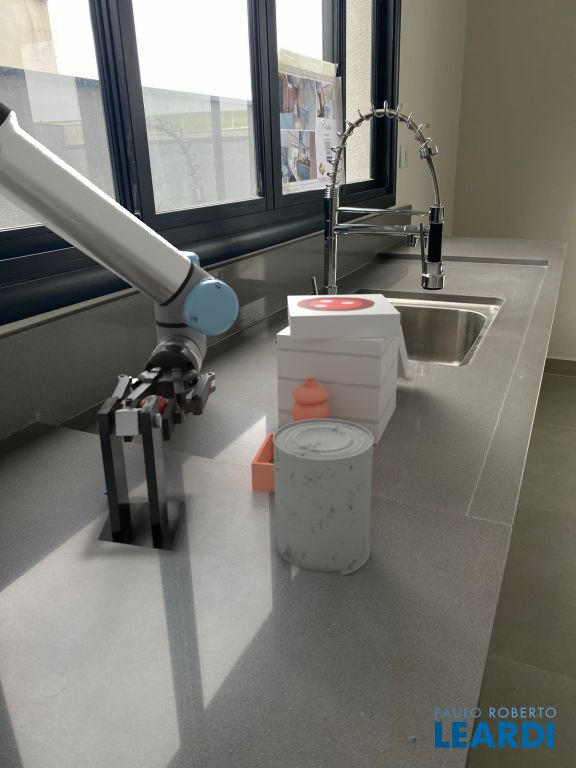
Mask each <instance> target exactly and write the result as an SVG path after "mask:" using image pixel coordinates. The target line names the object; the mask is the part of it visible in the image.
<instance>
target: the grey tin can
mask: <svg viewBox="0 0 576 768" xmlns="http://www.w3.org/2000/svg"><path fill="white" fill-rule="evenodd" d="M274 433H275V434H274V435H273V444H274V459H273V463H274V480H275V492H274V518H275V521H274V522H275V547H276V550H277V552H278V555H280V556H281V558H282V559H284V561H286V562H287V563H289V564H291V565H293V566H294V567H296V568H301V569H303V570H308V571H314V572H334V571H340V575H341V577H344V576H347V575H350V574H351V575H352V573H355V572H356V571H359V570H360V569H361V568H362V567H363V566H365V564H366V563H367V561H368V560H369V558H370V555H371V554H370V553H371V549H370V548H371V547H370V539H371V538H370V537H371V536H370V534H371V506H372V481H373V479H372V478H373V477H372V476H373V453H374V452H373V449H374V444H373V443H374V438H373V435H372V434H371V433H370V431H369V430H367V429H366V428H364V427H362V426H360V425H358V424H355V423H352V422H349V421H344V420H338V419H322V418H317V419H306V420H300V421H296V422H292V423H289V424H287V425H285V426H283V427H279V428H278V429H277V430H275V432H274Z"/></svg>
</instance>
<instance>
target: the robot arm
mask: <svg viewBox="0 0 576 768" xmlns="http://www.w3.org/2000/svg"><path fill="white" fill-rule="evenodd" d="M0 196H1V197H2V198H4V199H5V200H7V201H8V202H10V203H11V204H12V205H14V206H16V207H17V208H18V209H20V210H21V211H23V212H24V213H25V214H27V215H28V216H30V217H31V218H33V219H34V220H35V221H37V222H39V223H40V224H41V225H43V226H44V227H45V228H47V229H49V230H50V231H52V232H53V233H55V234H56V235H57V236H59V237H60V238H62V239H63V240H64V241H66V242H67V243H69V244H70V245H72V246H73V247H75V248H76V249H78V250H79V251H81V252H82V253H84V254H85V255H86V256H88V257H89V258H91V259H92V260H94V261H95V262H96V263H98V264H99V265H101V266H102V267H104V268H105V269H106V270H108V271H109V272H111V273H112V274H113V275H115V276H117V277H118V278H120V279H121V280H122V281H124V282H125V283H127V284H128V285H130V286H131V287H132V288H134V289H136V290H137V291H138V292H140V293H141V294H142V295H144V296H146V297H147V298H148V299H150V300H151V301H153V304H154V313H155V328H156V338H157V345H156V347H155V348H154V350H153V351H152V352H151V355H150V356H149V359H148V360H147V361H146V363H145V366H144V370H143V372H141V373H139V374H138V375H137V377H136V378H133V376H128V375H126V374H119V375H118V376H117V381H118V382H117V383H118V384H117V386H116V388H115V390H114V392H113V394H112V396H111V398H118V406H119V410H121V409H137V408H139V406H140V403H141V402H142V401H143V400H144V399H145V398H146V397H148V396H152V395H156V396H160V397H162V398H163V399H165V400H168V401H167V406H166V408H165V411H164V413H163V416H162V425H161V432H162V433H161V435H162V442H170V441H171V439H172V436H173V434H174V429H175V428H176V425H182V424H184V423H185V420H186V417H188V414H191V413H192V415H193V416H200V415H202V414H203V413H204V410H205V408H206V405H207V402H208V399H209V397H210V395H211V394H213V393H214V392H216V389H217V388H216V387H217V386H216V375H215V374H216V373H215V372H212V371H210V372H206V373H205V374H200V371H201V368H202V365H203V362H204V359H205V357H206V354H207V351H208V342H207V341H208V340H207V337H206V336H217V335H220V334H223V333H225V332H227V331H228V330H229V329H230V328H231V327H232V326H233V325H234V323H235V321H236V319H237V317H238V314H239V311H240V310H239V309H240V308H239V307H240V305H239V299H238V296H237V294H236V292H235V291H234V290H233V288H232V287H230V285H228V284H227V283H225V282H224V281H223V280H222V279H220V278H216V277H214V276H212V275H211V274H209V273H208V272H207V271H206V270H205V269H203V268H202V267H201V263H200V257H199V256H198V254H197V253H195V252H192V251H180V250H178V248H176V247H175V246H173V245H172V244H171V243H169V242H168V241H167V240H166V239H164V237H162V236H161V235H159V234H158V233H156V232H155V231H154V230H153V229H151V228H150V227H149V226H147V224H145V223H144V222H143V221H141V220H140V219H138V218H137V217H136V216H135V215H133V214H132V213H131V212H129V211H128V210H127V209H126V208H124V206H121V205H120V204H119V203H118V202H116V201H115V200H114V199H112V198H111V196H108V194H106V193H105V192H103V191H102V190H101V189H99V188H98V187H97V186H96V185H94V184H93V183H92V182H91V181H89V180H88V179H87V178H85V177H84V176H83V175H81V174H80V173H79V172H77V170H75V169H74V168H72V167H71V166H69V165H68V164H67V163H66V162H64V161H63V160H62V159H61V158H60V157H58V156H57V155H56V154H54V152H51V151H50V150H49V149H48V148H47V147H45V146H44V145H42V144H41V143H40V142H38V141H37V140H36V139H35V138H34V137H32V136H31V135H30V134H28V133H27V132H26V131H24V129H22V128H21V127H20V126H19V125H18V120H17V116H16V113H15V112H14V111H13V110H12V109H11V108H10V107H8V106H7V105H6V104H4V103H3V102H2V101H0ZM199 374H200V375H199ZM191 392H192V393H191ZM189 394H191V397H190V398H187V396H188V395H189ZM134 437H135V436H123V442H124V443H132V442H133V440H134ZM124 443H123V444H124Z"/></svg>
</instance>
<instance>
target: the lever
mask: <svg viewBox="0 0 576 768" xmlns="http://www.w3.org/2000/svg"><path fill="white" fill-rule="evenodd" d="M148 397H157V398H158V409H159V414H161V418H162V416H163V413H164V411H165V408H166V406H167V403H168V401H167V399H164V398H162V397H160V396H156V395H152V396H148ZM148 397H146V398H145V399H144V400H143V401H142V402H141V403H140V406H139V408H137V409H121V410H118V411H115V425H116V436H122V437H124V436H134V437H135V436H140V435H142V431H141V421H140V411H141V409H142V407H143V405H144V404H145V402H146V400H147V398H148Z"/></svg>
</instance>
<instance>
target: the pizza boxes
mask: <svg viewBox="0 0 576 768" xmlns="http://www.w3.org/2000/svg"><path fill="white" fill-rule="evenodd" d="M401 314H402V313H401V312H400V311H398V309H397V308H396V307H395V306H394V305H393V304H392V303H391V302H390V301H389V300H388V299H387V298H386V297H385V296H384V295H383V294H382V293H369V294H368V293H364V294H363V293H362V294H361V293H359V294H320V295H319V294H317V295H287V319H288V326H287V327H285V328H284V329H282V330H280V331H279V332H278V333H276V371H277V373H276V375H277V376H276V377H277V378H276V379H277V419H278V421H277V423H278V425H277V426H278V428H281V427H283V426H285V425H287V424H289V423H292V422H293V421H294V420H295V418H294V416H293V415H292V405H293V404H294V402H295V399H294V398H293V391H294V390H295V389H296V388H297V387H299V386H302V385H305V381H304V380H305V379H306V378H315V379H316V380H317V382H316V385H320V386H322V387H324V388H325V389H326V390H327V391H328V395H329V396H328V398H327V399H326V402H327V403H328V405H329V408H330V412H329V415H328V417H327V418H326V419H338V420H344V421H349V422H352V423H355V424H358V425H360V426H362V427H364V428H366V429H367V430H369V431H370V433H371V434H372V435H373V438H374V443H373V445H378V444H379V443H380V440H381V439H382V437H383V435H384V432H385V430H386V428H387V426H388V424H389V422H390V420H391V419H392V416H393V415H394V412H395V411H396V407H397V389H398V388H397V386H398V385H397V384H398V379H402V380H403V379H405V380H407V377H408V371H409V366H410V361H409V357H408V351H407V348H406V342H405V337H404V332H403V328H402V325H401V316H402V315H401Z"/></svg>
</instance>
